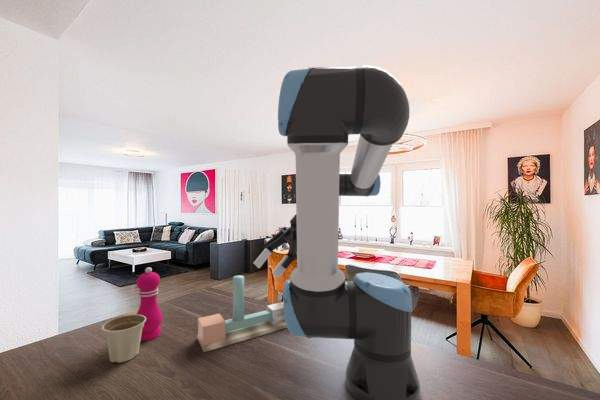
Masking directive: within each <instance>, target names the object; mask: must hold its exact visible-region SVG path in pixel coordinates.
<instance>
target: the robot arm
mask: <svg viewBox="0 0 600 400" xmlns="http://www.w3.org/2000/svg"><path fill="white" fill-rule="evenodd" d="M279 91H280V92H279V96H278V108H277V122H278V123H277V124H278V126H277V128H278V132H279V134H280V136H283V137H286V138H287V139H286V141H287V142H286V143H287V144H286V145H287V146H288V148H289V149H290V150H291V151H292V152H293V153H294V155H295V202H296V203H295V205H296V208H295V209H296V210H295V211H296V212H295V213H296V214H295V215H293V217H292V218H291V219H290V220H289V224H290V227H289V228H287V227H286V226H284V227H283V228H281V230H279V232H277V233H276V234H275V235H273V237H271V238H270V239H268V240H267V241H266V242H265V243H264V244H263V246H264V249H263V251H262V252H261V253H260V254H259V255H258V257H257V258H256V259H255V260H254V261H253V264H254V265H255V267H256V268H257V269H261V267H262V266H263V265H264V264H265V262H266V261H267V260H268V259H269V257H270V256H271V255H272V254H273V251H275V250H276V249H278V248H280V247H281V246H283V245H285V244H288V243H289V247H288V252H287V253H285V255H284V256H283V257H282V259H281V260H280V261H279V263H278V264H277V265H276V266H275V267H274V268H273V270H272V271H271V274H272V275H274V276H275V277H276V278H277V279H278V280H279V279H280V278H281V277H282V275H283V274H284V273H285V271H286V270H287V269H288V268H289V267H290V265H291V264H292V263H293V262H294V261H296V263H297V264H296V265H297V266H296V267H295V268H294V269H293V270H292V271H291V273H290V275H289V279H286V280H285V282H284V285H283V290H282V300H283V302H284V303H283V309H284V317H285V322H286V326H287V328H286V329H287V331H288V332H289V333H290V334H291V335H292V336H295V337H301V338H306V339H307V338H308V339H312V338H318V339H339V340H340V339H342V340H353V341H354V342H353V349H352V351H351V355H350V356H349V359H348V363H347V365H346V370H345V384H346V388H347V390H348V392H349V394H350V395H351V396H352V398H353V399H355V400H420V399H421V383H420V379H419V376H418V372H417V371H416V367H415V364H414V360H413V357H412V312H413V304H412V292H411V289H410V288H409V286H407V284H405V283H404V282H403V281H401V280H399V279H397V278H394V277H392V276H388V275H384V274H381V273H375V272H368V271H367V272H359V273H356V274H355V275H354V277H353V280H346V276H345V273H344V272H343V270H341V269H340V267H339V228H340V227H339V221H340V220H339V219H340V216H339V215H340V197H346V196H347V197H371V196H372V197H373V196H375V197H376V196H378V195H379V194H380V190H381V183H382V181H381V176H380V171H381V169H382V167H383V166H384V163H385V161H386V159H387V157H388V155H389V152H390V151H391V149H392V146H393V145H394V144H397V142H398V141H400V139H402V137H403V135H404V134H405V131H406V130H407V126H408V125H409V120H410V103H409V99H408V96H407V94H406V91H405V89H404V87H403V86H402V84H401V83H400V81H398V79H397V78H395V76H394V75H393V74H391V73H390V72H388V71H387V70H385V69H383V68H381V67H377V66H375V65H373V66H372V65H361V66H338V67H337V66H335V67H334V66H333V67H329V66H327V67H321V66H320V67H313V66H310V67H309V66H308V67H307V68H301V69H292V70H289V71H288V72H286V73H285V75H284V77H283V79H282V83H281V86H280V90H279ZM349 135H359V137H358V142H357V147H356V149H355V150H356V151H355V155H354V160H353V164H352V168H351V171H350V172H341V171H340V169H341V167H340V166H341V165H340V163H341V162H340V159H341V156H340V155H341V152H343V151H344V150H345V148H347V147H348V145H349Z"/></svg>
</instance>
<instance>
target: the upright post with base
mask: <svg viewBox="0 0 600 400" xmlns="http://www.w3.org/2000/svg"><path fill="white" fill-rule="evenodd" d="M224 320H225V333H226V332H230V331H233V330H237V329H241V328H245V327H248V326H252V325H256V324H259V323H263V322H267V321H271V320H272V311H270V310H267V309H266V310H262V311H258V312H253V313H250V314H245V276H244V275H234V276H233V277H232V318H229V319H224Z"/></svg>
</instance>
